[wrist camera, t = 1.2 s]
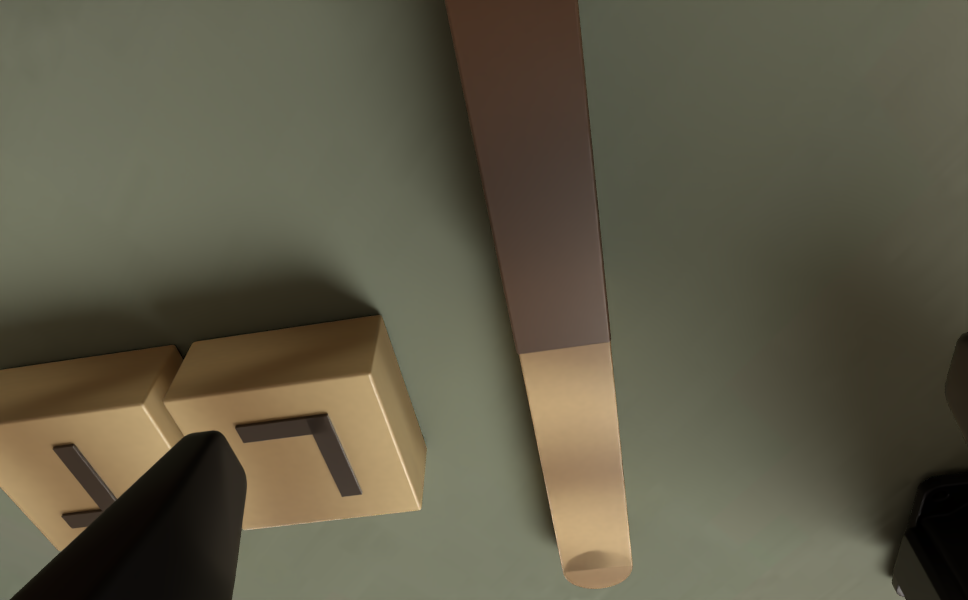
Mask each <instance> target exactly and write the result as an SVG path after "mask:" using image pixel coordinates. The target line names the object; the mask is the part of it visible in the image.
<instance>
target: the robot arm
mask: <svg viewBox="0 0 968 600" xmlns="http://www.w3.org/2000/svg"><path fill="white" fill-rule="evenodd" d="M945 395H946V399H947V403H948V405H949V407H950V410H951V412H952V414H953V416H954V418H955V420H956V423H957V425H958V427H959V429H960V431H961V433H962V435H963V438H964V440H965V442H966V444H967V446H968V332H967V333H964V334H962V335H961V336H960V337H959V339H958V340H957V343H956V346H955V350H954V353H953V357H952V361H951V364H950V368H949V371H948V375H947V379H946V383H945ZM246 493H247V478H246V474H245V471H244V469H243V467H242V465H241V463H240V462H239V460H238V458H237V456H236V455H235V453H234V451H233V450H232V448H231V446H230V444H229V443H228V441H227V439H226V438H225V436H224V435H223V434H222V433H221V432H219V431H215V430H211V431H204V432H196V433H191V434H188V435H186V436H184V437H183V438H182V439H181V440H180V441H179V442H177V443H176V444H175V445H174V446H173V447H172V448H171V449H170V450H169V451H168V452H167V453H166V454H165V455H164V456H163V457H161V458H160V459H159V460H158V461H157V462H156V463H155V464H154V465H153V466H152V467H151V468H150V469H149V470H148V471H147V472H145V473H144V474H143V475H142V476H141V477H140V478H139V479H138V480H137V481H136V482H135V483H134V484H133V485H132V486H131V487H129V488H128V489H127V490H126V491H125V492H124V493H123V494H122V495H121V496H120V497H119V498H118V499H117V500H116V501H115V502H113V503H112V504H111V505H110V506H109V507H108V508H107V509H106V510H105V511H104V512H103V513H102V514H101V515H100V516H99V517H97V518H96V519H95V520H94V521H93V522H92V523H91V524H90V525H89V526H88V527H87V528H86V529H85V530H84V531H83V532H81V533H80V534H79V535H78V536H77V537H76V538H75V539H74V540H73V541H72V542H71V543H70V544H69V545H68V546H67V547H65V548H64V549H63V550H62V551H61V552H60V553H59V554H58V555H57V556H56V557H55V558H54V559H53V560H52V561H51V562H49V563H48V564H47V565H46V566H45V567H44V568H43V569H42V570H41V571H40V572H39V573H38V574H37V575H36V576H35V577H33V578H32V579H31V580H30V581H29V582H28V583H27V584H26V585H25V586H24V587H23V588H22V589H21V590H20V591H19V592H17V593H16V594H15V595H14V596H13V597H12V598H11V599H10V600H232V595H233V589H234V583H235V576H236V568H237V560H238V553H239V545H240V538H241V530H242V523H243V515H244V508H245V500H246ZM892 585H893V587H894V589H895V591H896V593H897V594H898V595H899V596H902V597H905V599H906V600H968V473H959V474H950V475H941V476H935V477H931V478H928V479H926V480H924V481H923V482H922V483H921V484H920V485H919V487H918V490H917V493H916V497H915V501H914V504H913V508H912V511H911V515H910V518H909V522H908V525H907V529H906V531H905V533H904V535H903V538H902V541H901V545H900V549H899V552H898V556H897V559H896V563H895V566H894V570H893V578H892Z"/></svg>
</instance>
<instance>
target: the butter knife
mask: <svg viewBox="0 0 968 600" xmlns="http://www.w3.org/2000/svg"><path fill="white" fill-rule="evenodd" d="M444 1H445V6H446V11H447V16H448V21H449V26H450V31H451V36H452V41H453V45H454V50H455V55H456V60H457V65H458V70H459V75H460V80H461V84H462V89H463V94H464V99H465V104H466V109H467V114H468V119H469V124H470V128H471V133H472V138H473V143H474V148H475V153H476V158H477V163H478V168H479V172H480V177H481V182H482V187H483V192H484V197H485V202H486V207H487V212H488V216H489V221H490V226H491V231H492V236H493V241H494V246H495V251H496V255H497V260H498V265H499V270H500V275H501V280H502V285H503V290H504V295H505V299H506V304H507V309H508V314H509V319H510V324H511V329H512V334H513V339H514V343H515V348H516V352H517V354H519V357H520V362H521V367H522V372H523V377H524V382H525V387H526V392H527V397H528V402H529V407H530V412H531V417H532V422H533V427H534V432H535V437H536V441H537V446H538V451H539V456H540V461H541V466H542V471H543V476H544V481H545V486H546V491H547V496H548V501H549V506H550V511H551V516H552V521H553V525H554V530H555V535H556V540H557V545H558V550H559V555H560V560H561V565H562V570H563V574H564V576H565V578H566V579H567V580H568V581H569V582H571V583H572V584H574V585H577V586H579V587H583V588H591V589H599V588H606V587H610V586H614V585H616V584H619V583H621V582H622V581H624V580H625V579H626V578H627V577H628V576H629V575H630V573H631V571H632V568H633V564H632V554H631V544H630V534H629V524H628V513H627V503H626V493H625V483H624V473H623V463H622V453H621V443H620V433H619V423H618V413H617V403H616V393H615V383H614V372H613V362H612V352H611V342H610V341H611V333H610V322H609V312H608V302H607V292H606V282H605V272H604V261H603V251H602V241H601V231H600V221H599V210H598V200H597V190H596V180H595V170H594V160H593V149H592V139H591V129H590V119H589V109H588V98H587V88H586V78H585V68H584V58H583V48H582V37H581V27H580V17H579V7H578V0H444Z"/></svg>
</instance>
